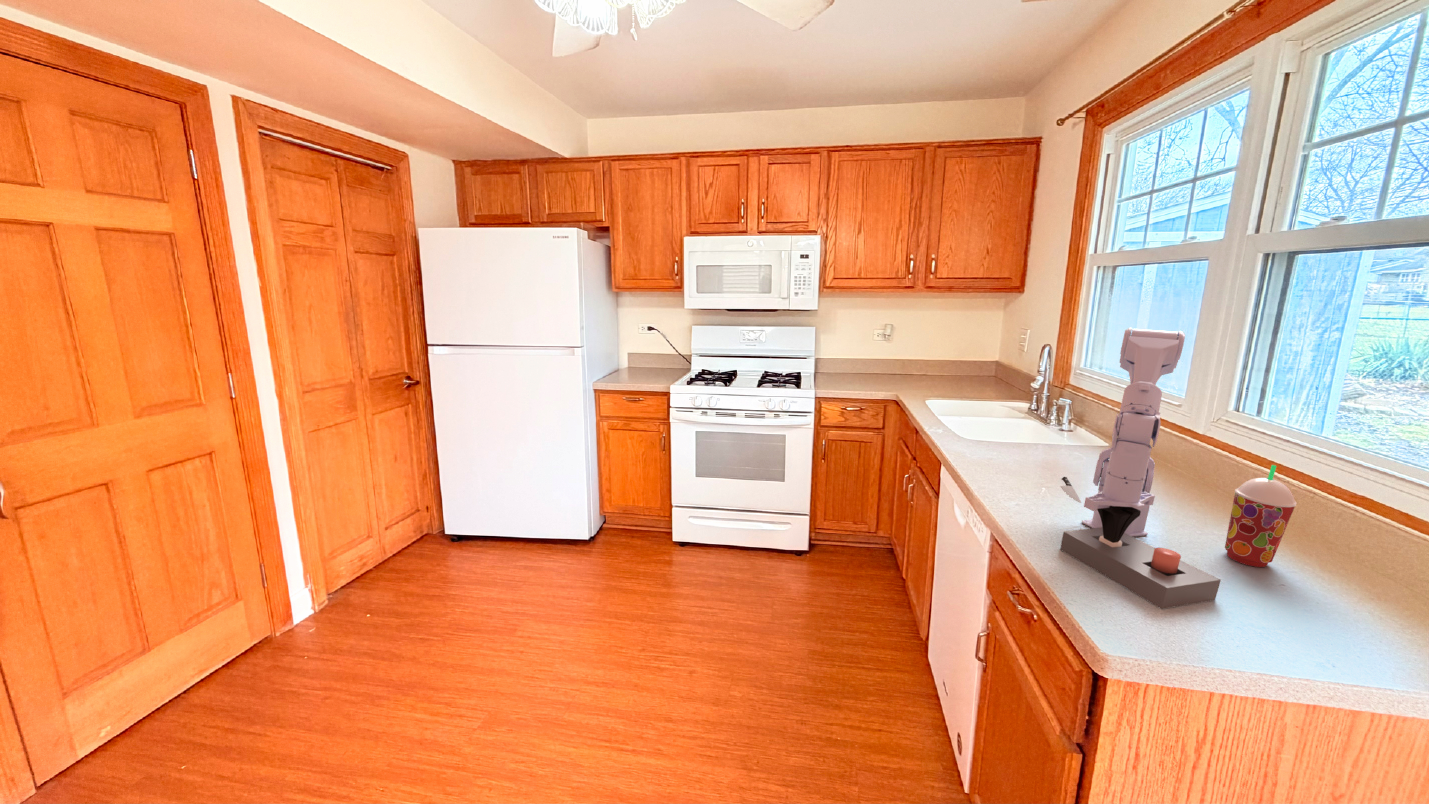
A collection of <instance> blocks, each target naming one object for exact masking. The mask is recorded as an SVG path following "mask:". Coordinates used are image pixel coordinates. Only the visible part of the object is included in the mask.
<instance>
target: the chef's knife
mask: <svg viewBox="0 0 1429 804" xmlns="http://www.w3.org/2000/svg"><path fill="white" fill-rule="evenodd" d="M1061 480H1063V481H1064V483H1065V484H1066V485H1060V486H1059V487H1060V489H1061V490H1062V491H1064V493H1065V492H1066V493H1065V494H1066V496H1068V495H1069V496H1068V497H1069V498H1071V499H1072V498H1073V501H1075V502H1077V503H1079V504H1081V503H1082V501H1081V499H1080V497H1079V495H1078V493H1077V492H1076V490H1075V488H1074V487H1073V485H1072V484H1071V481H1070V480H1069V479H1068V477H1067V476H1063V477H1062V478H1061Z"/></svg>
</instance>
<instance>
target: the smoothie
mask: <svg viewBox="0 0 1429 804" xmlns="http://www.w3.org/2000/svg"><path fill="white" fill-rule="evenodd" d="M1276 469H1277V465H1276V464H1271V467H1270V470H1269V472H1268V476H1267V477H1255V478H1250V479H1249V480H1247V481H1245V482H1243V483H1242V484H1241V485H1240V486H1239V487H1237V488H1235V489H1234V496H1233V500H1232V506H1231V513H1230V517H1229V523H1228V529H1227V533H1226V538H1225V543H1224V544H1225V545H1224V549H1225V550H1226V555H1227V557H1229V558H1230V559H1231V560H1233V561H1235V562H1237V563H1240V564H1243V565H1245V566H1250V567H1255V568H1265V567H1266V566H1267V565H1268V564H1269V563H1272V562H1273V561H1274V558H1275V556H1276V553H1277V551H1278V549H1279V546H1280V543H1281V541H1282V538H1283V537H1284V533H1285V532H1286V529H1287V527H1288V524H1289V522H1290V520H1291V517H1292V515H1293V513H1294V509H1295V507H1296V506H1297V503H1298V502H1297V501H1296V500H1295V497H1294V495H1293V493H1292V491H1291V490H1290V488H1289V487H1288V486H1287V485H1286V484H1284V483H1283V482H1281V481H1279V480H1276V479H1274V476H1275V473H1276Z"/></svg>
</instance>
